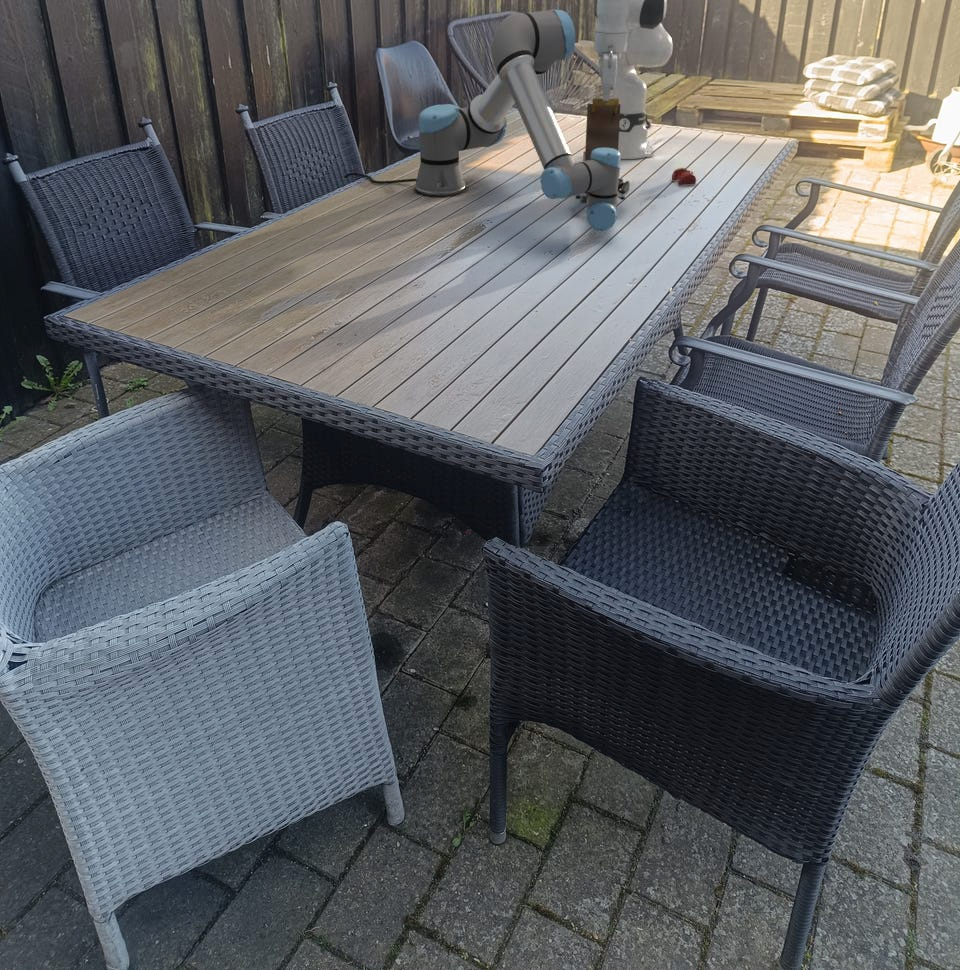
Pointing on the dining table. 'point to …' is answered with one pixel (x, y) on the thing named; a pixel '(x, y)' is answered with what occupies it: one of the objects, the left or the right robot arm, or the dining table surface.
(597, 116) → the lid
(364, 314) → the dining table surface
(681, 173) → the dark red rounded lump
